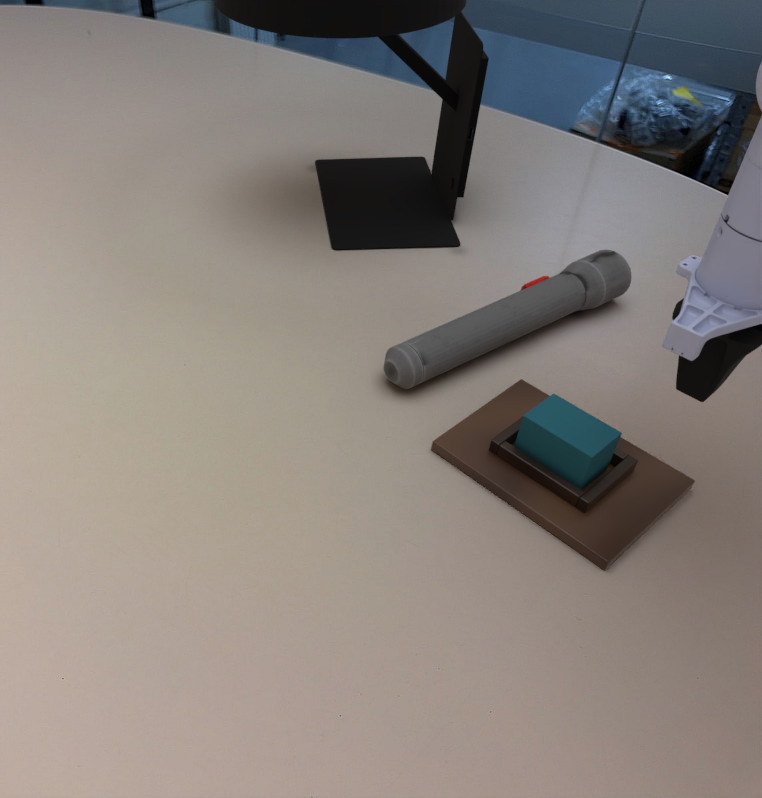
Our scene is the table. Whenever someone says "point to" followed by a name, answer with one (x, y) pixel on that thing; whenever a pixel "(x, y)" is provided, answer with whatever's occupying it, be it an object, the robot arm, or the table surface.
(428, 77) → the table lamp
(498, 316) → the flashlight
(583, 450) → the teal block
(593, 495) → the brown board with frame
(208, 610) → the table surface
